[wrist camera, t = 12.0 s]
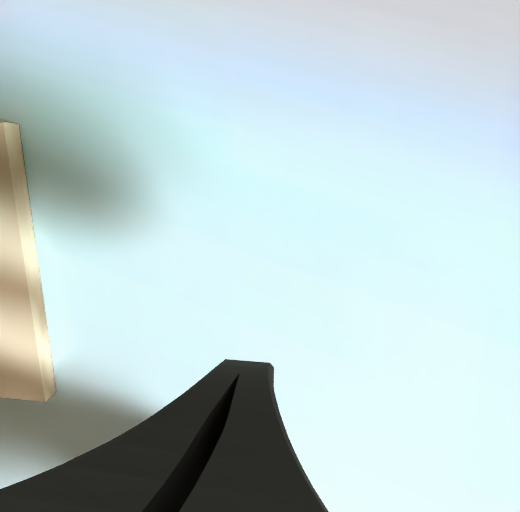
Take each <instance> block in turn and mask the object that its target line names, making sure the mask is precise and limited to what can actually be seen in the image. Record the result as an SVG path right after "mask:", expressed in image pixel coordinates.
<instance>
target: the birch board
mask: <svg viewBox="0 0 520 512" xmlns="http://www.w3.org/2000/svg"><path fill="white" fill-rule="evenodd" d="M55 393H56V386H55V379H54V372H53V365H52V358H51V351H50V344H49V337H48V329H47V322H46V315H45V308H44V301H43V294H42V287H41V280H40V273H39V266H38V258H37V251H36V244H35V237H34V230H33V223H32V216H31V209H30V202H29V194H28V187H27V180H26V173H25V166H24V159H23V152H22V145H21V138H20V131H19V124H15V123H7V122H0V398H10V399H19V400H29V401H39V402H46V401H47V400H48V399H49V398H51V397H52V396H53V395H54V394H55Z"/></svg>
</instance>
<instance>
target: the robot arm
mask: <svg viewBox="0 0 520 512" xmlns="http://www.w3.org/2000/svg"><path fill="white" fill-rule="evenodd" d="M273 386H274V367H273V366H272V365H271V364H270V363H264V362H252V361H239V360H227V359H225V360H224V361H223V362H221V363H220V364H219V365H218V366H217V367H215V368H214V369H213V370H212V371H211V372H209V373H208V374H207V375H206V376H205V377H203V378H202V379H201V380H200V381H198V382H197V383H196V384H195V385H194V386H192V387H191V388H190V389H188V390H187V391H186V392H185V393H183V394H182V395H181V396H179V397H178V398H177V399H175V400H174V401H172V402H171V403H170V404H168V405H167V406H165V407H164V408H163V409H161V410H160V411H158V412H157V413H155V414H154V415H153V416H151V417H150V418H148V419H147V420H145V421H143V422H142V423H140V424H139V425H137V426H135V427H134V428H132V429H130V430H128V431H127V432H125V433H123V434H122V435H120V436H118V437H116V438H115V439H113V440H111V441H109V442H107V443H105V444H103V445H101V446H99V447H97V448H95V449H93V450H91V451H89V452H87V453H85V454H83V455H81V456H79V457H76V458H74V459H72V460H70V461H68V462H66V463H64V464H62V465H60V466H57V467H55V468H53V469H50V470H48V471H45V472H43V473H41V474H38V475H36V476H33V477H31V478H28V479H26V480H23V481H21V482H18V483H15V484H13V485H10V486H8V487H5V488H2V489H0V512H328V510H327V509H326V507H325V505H324V504H323V502H322V501H321V499H320V498H319V496H318V494H317V493H316V491H315V490H314V488H313V486H312V485H311V483H310V481H309V479H308V477H307V475H306V474H305V472H304V470H303V468H302V466H301V464H300V462H299V460H298V458H297V456H296V454H295V452H294V449H293V447H292V445H291V442H290V440H289V438H288V435H287V432H286V430H285V427H284V424H283V422H282V418H281V415H280V412H279V409H278V405H277V401H276V398H275V393H274V387H273Z"/></svg>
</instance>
